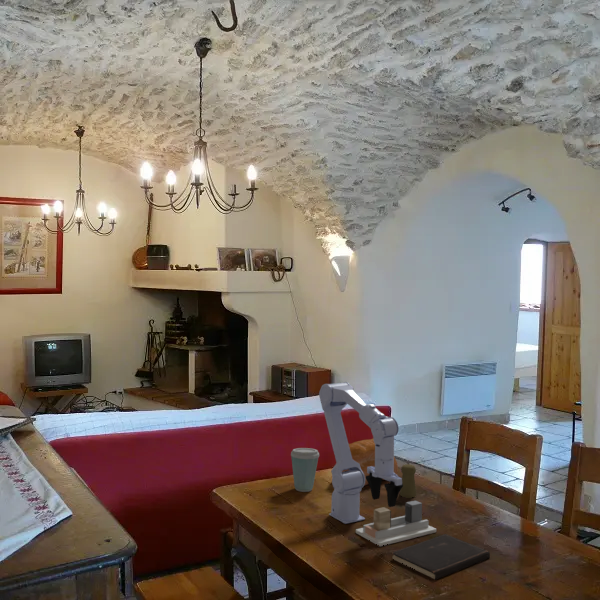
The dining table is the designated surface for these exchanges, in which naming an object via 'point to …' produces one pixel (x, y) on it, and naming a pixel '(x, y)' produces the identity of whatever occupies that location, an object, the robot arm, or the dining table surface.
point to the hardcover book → (440, 556)
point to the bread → (366, 455)
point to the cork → (408, 481)
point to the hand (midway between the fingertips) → (383, 502)
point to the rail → (399, 527)
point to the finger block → (382, 519)
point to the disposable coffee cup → (304, 468)
